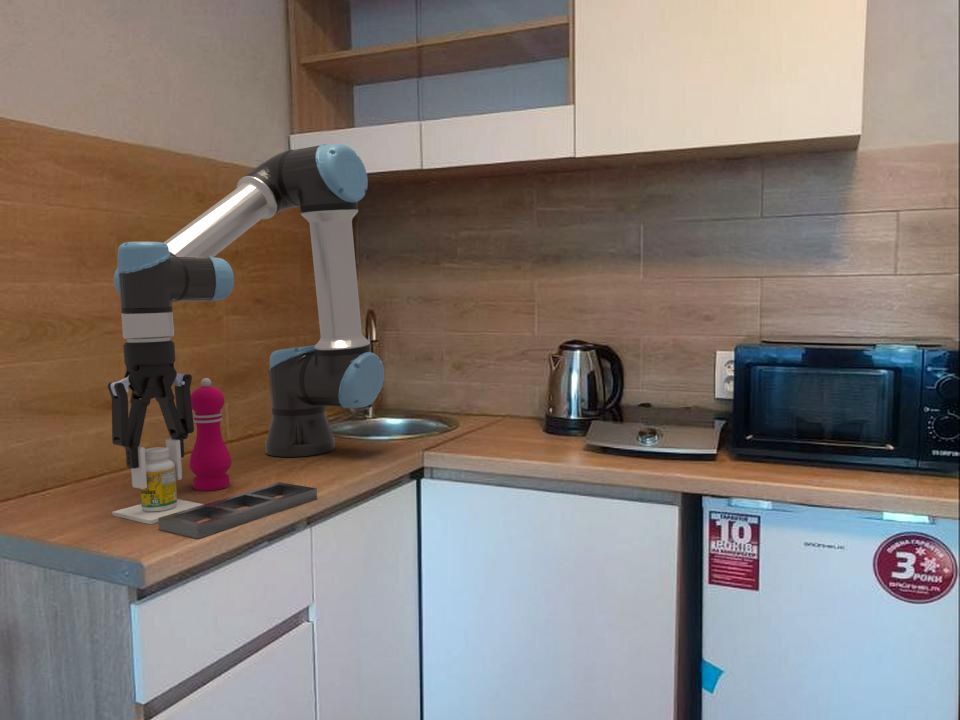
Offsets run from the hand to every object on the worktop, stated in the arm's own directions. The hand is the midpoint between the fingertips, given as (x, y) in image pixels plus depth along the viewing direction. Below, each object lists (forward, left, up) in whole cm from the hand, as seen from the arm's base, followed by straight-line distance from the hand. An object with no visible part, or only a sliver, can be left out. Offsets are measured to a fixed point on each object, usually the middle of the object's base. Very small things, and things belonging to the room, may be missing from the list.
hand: (157, 482), depth 124 cm
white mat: (0, 0, -5) cm, 5 cm away
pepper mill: (-15, -6, -5) cm, 17 cm away
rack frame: (-6, +13, -5) cm, 15 cm away
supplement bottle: (0, 0, -4) cm, 4 cm away
